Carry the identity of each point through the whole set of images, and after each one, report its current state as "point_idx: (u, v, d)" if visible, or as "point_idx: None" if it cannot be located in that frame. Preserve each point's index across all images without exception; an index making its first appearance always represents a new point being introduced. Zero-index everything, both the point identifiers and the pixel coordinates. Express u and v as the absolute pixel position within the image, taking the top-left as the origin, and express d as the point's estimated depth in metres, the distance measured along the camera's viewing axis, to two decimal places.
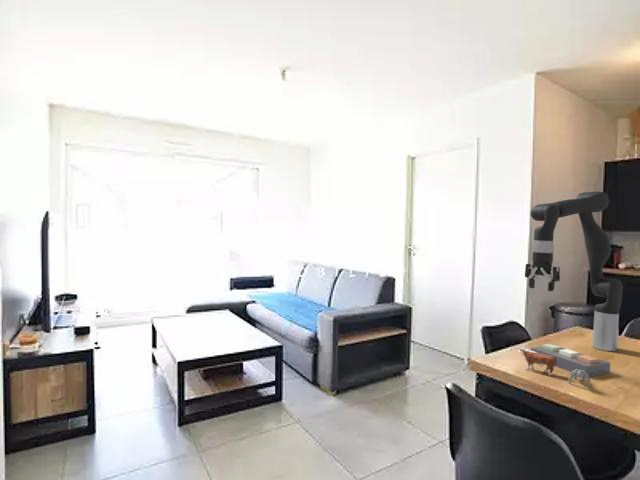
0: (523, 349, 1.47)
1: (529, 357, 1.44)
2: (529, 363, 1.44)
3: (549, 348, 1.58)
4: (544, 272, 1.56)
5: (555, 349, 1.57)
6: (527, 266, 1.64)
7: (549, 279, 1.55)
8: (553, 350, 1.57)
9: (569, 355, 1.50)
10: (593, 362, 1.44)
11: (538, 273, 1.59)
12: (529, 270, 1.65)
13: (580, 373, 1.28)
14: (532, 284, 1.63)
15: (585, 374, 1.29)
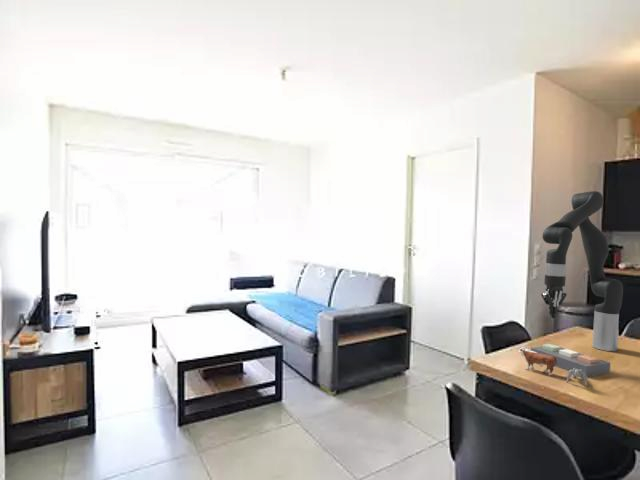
0: (523, 349, 1.47)
1: (529, 357, 1.44)
2: (529, 363, 1.44)
3: (549, 348, 1.58)
4: (559, 296, 1.58)
5: (555, 349, 1.57)
6: (548, 296, 1.56)
7: (557, 303, 1.59)
8: (553, 350, 1.57)
9: (569, 355, 1.50)
10: (593, 362, 1.44)
11: (557, 294, 1.58)
12: None
13: (577, 372, 1.29)
14: None
15: (582, 373, 1.30)
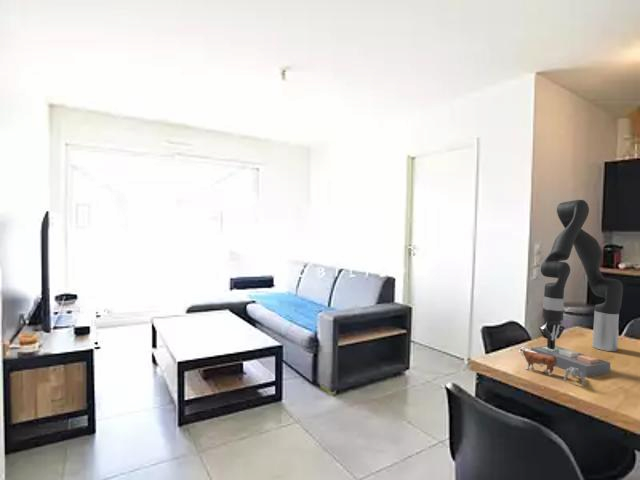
0: (523, 349, 1.47)
1: (529, 357, 1.44)
2: (529, 363, 1.44)
3: None
4: (557, 330, 1.59)
5: None
6: (546, 330, 1.57)
7: (555, 337, 1.59)
8: None
9: (569, 355, 1.50)
10: (593, 362, 1.44)
11: (555, 328, 1.59)
12: None
13: (573, 371, 1.30)
14: None
15: (579, 372, 1.31)
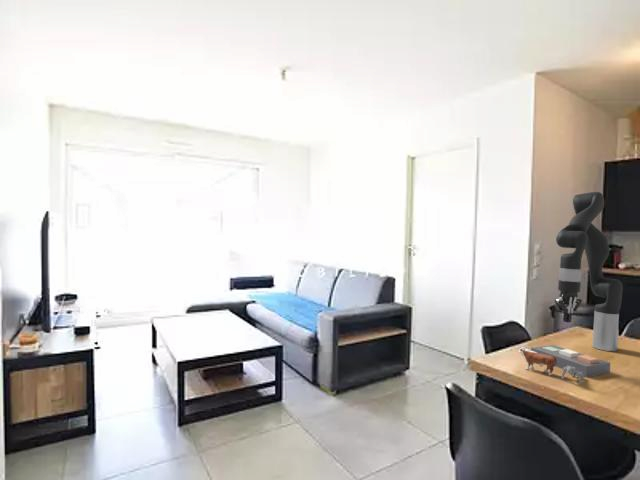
0: (523, 349, 1.47)
1: (529, 357, 1.44)
2: (529, 363, 1.44)
3: None
4: (574, 302, 1.52)
5: None
6: (562, 302, 1.50)
7: (572, 310, 1.52)
8: None
9: (569, 355, 1.50)
10: (593, 362, 1.44)
11: (571, 300, 1.52)
12: None
13: (569, 369, 1.32)
14: None
15: (575, 371, 1.32)
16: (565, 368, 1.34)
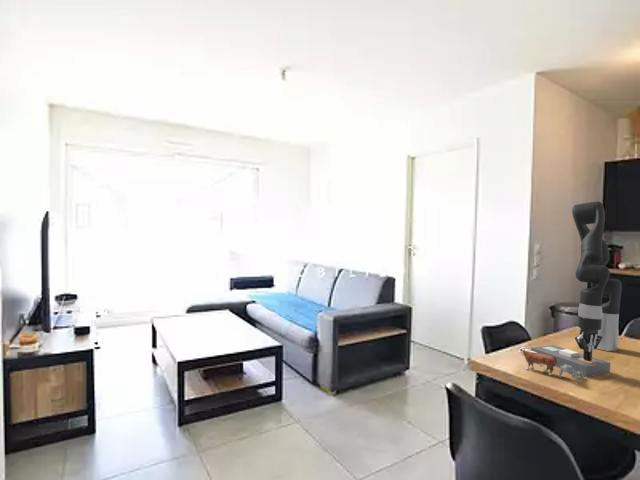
0: (523, 349, 1.47)
1: (529, 357, 1.44)
2: (529, 363, 1.44)
3: None
4: (595, 340, 1.45)
5: None
6: (583, 340, 1.43)
7: (593, 348, 1.45)
8: None
9: (569, 355, 1.50)
10: None
11: None
12: None
13: (565, 368, 1.33)
14: None
15: (572, 370, 1.33)
16: (562, 367, 1.36)
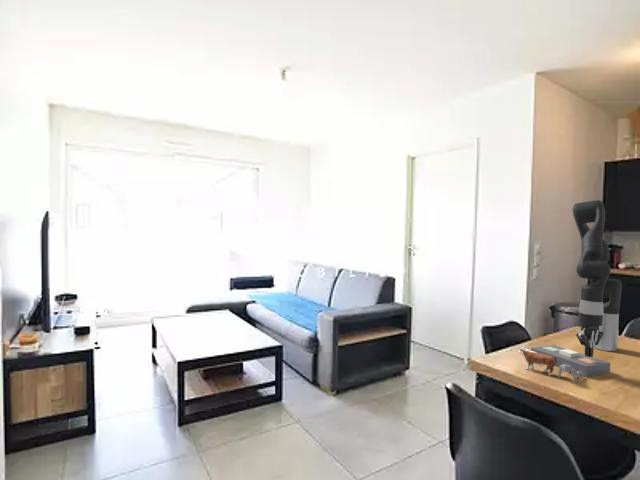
0: (523, 349, 1.47)
1: (529, 357, 1.44)
2: (529, 363, 1.44)
3: None
4: (596, 336, 1.45)
5: None
6: (584, 336, 1.43)
7: (594, 344, 1.45)
8: None
9: (569, 355, 1.50)
10: None
11: None
12: None
13: (564, 367, 1.34)
14: None
15: (571, 369, 1.33)
16: (561, 366, 1.36)
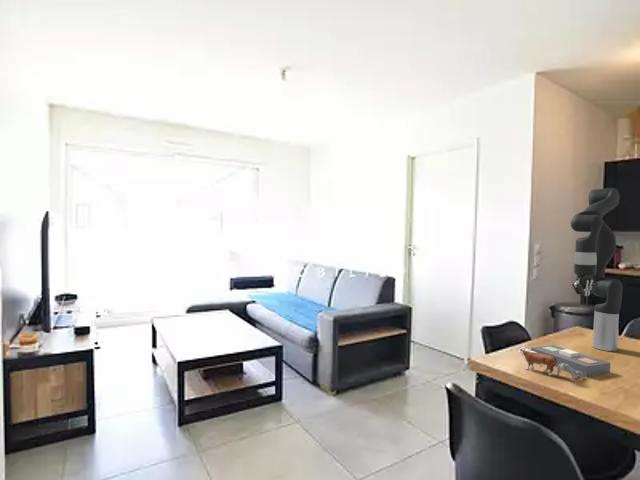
0: (523, 349, 1.47)
1: (529, 357, 1.44)
2: (529, 363, 1.44)
3: None
4: (590, 285, 1.55)
5: None
6: (579, 285, 1.53)
7: (588, 293, 1.55)
8: None
9: (569, 355, 1.50)
10: None
11: None
12: None
13: (562, 366, 1.35)
14: None
15: (569, 368, 1.34)
16: (559, 365, 1.37)
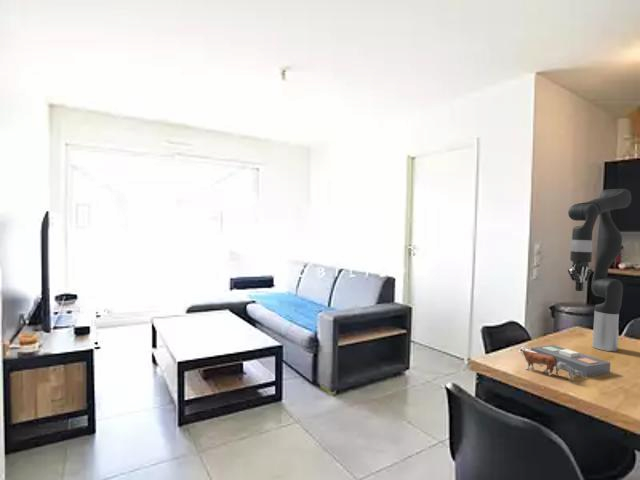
0: (523, 349, 1.47)
1: (529, 357, 1.44)
2: (529, 363, 1.44)
3: None
4: (586, 272, 1.60)
5: None
6: (575, 271, 1.58)
7: (584, 279, 1.60)
8: None
9: (569, 355, 1.50)
10: None
11: None
12: None
13: (559, 364, 1.36)
14: None
15: (566, 367, 1.36)
16: (557, 364, 1.38)
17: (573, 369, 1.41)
